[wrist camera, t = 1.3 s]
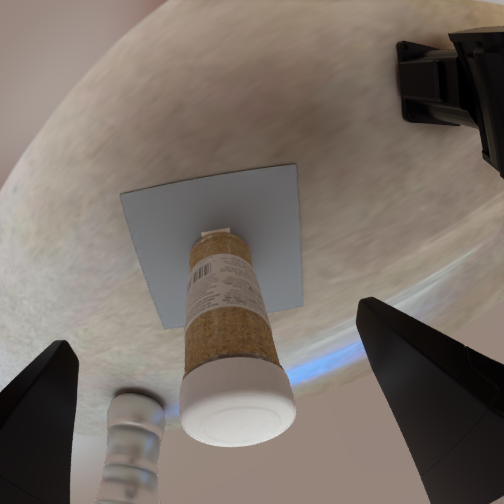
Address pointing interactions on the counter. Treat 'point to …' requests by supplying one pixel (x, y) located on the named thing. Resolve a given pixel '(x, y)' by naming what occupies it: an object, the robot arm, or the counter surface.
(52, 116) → the counter surface
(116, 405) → the plastic bottle
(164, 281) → the mat
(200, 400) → the sprinkles bottle
